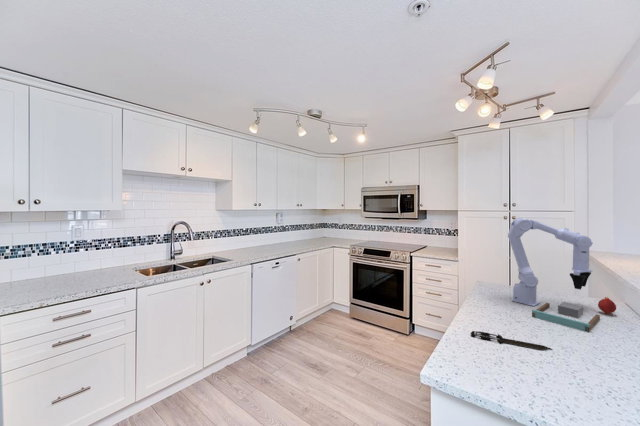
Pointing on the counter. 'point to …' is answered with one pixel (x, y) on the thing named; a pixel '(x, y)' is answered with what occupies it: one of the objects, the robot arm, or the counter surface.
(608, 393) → the counter surface
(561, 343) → the counter surface
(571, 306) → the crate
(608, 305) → the red rounded lump
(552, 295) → the counter surface
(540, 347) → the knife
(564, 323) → the bay
